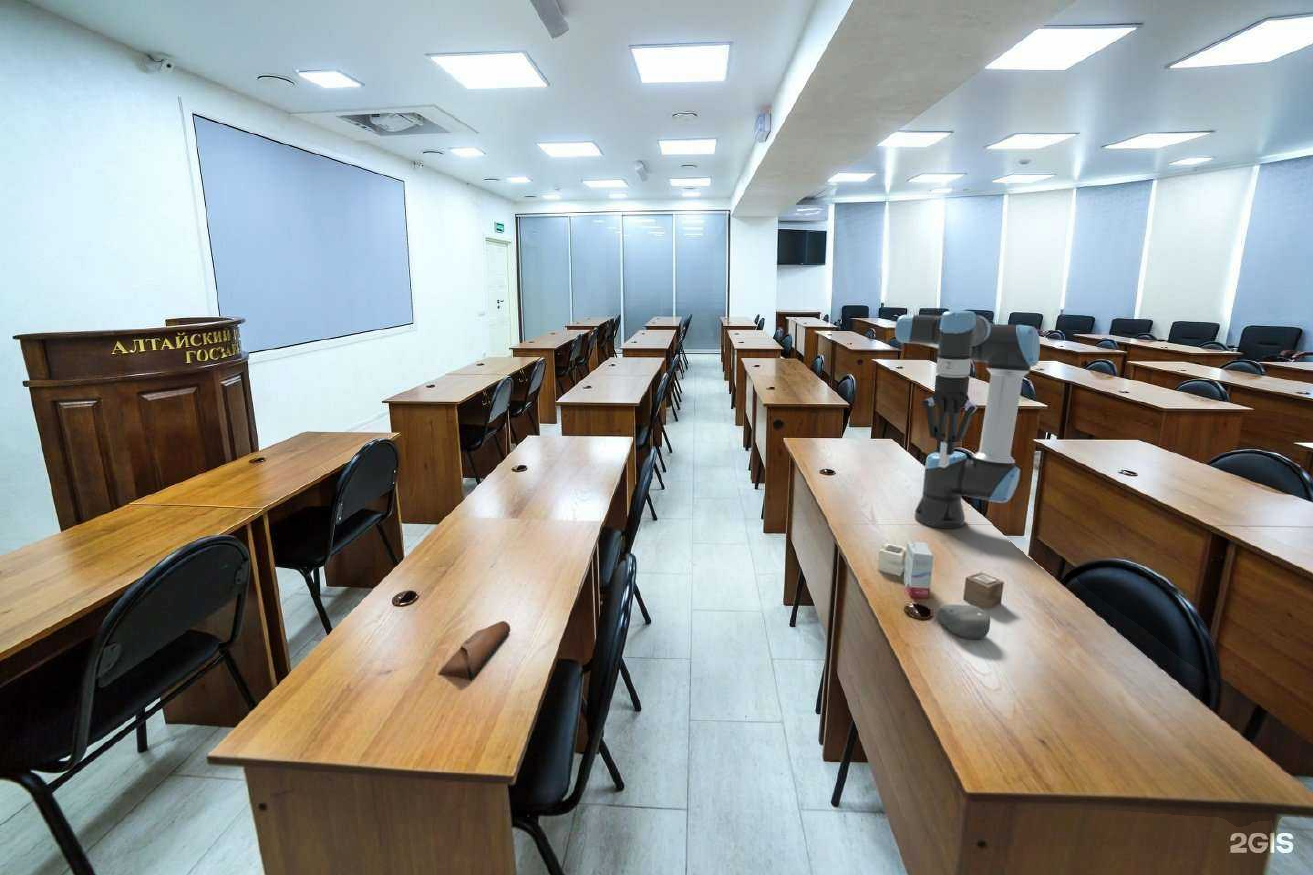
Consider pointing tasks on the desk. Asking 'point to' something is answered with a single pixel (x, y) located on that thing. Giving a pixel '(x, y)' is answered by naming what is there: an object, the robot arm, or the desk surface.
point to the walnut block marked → (983, 590)
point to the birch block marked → (892, 559)
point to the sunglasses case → (475, 651)
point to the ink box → (918, 569)
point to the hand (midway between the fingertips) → (943, 465)
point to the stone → (964, 620)
